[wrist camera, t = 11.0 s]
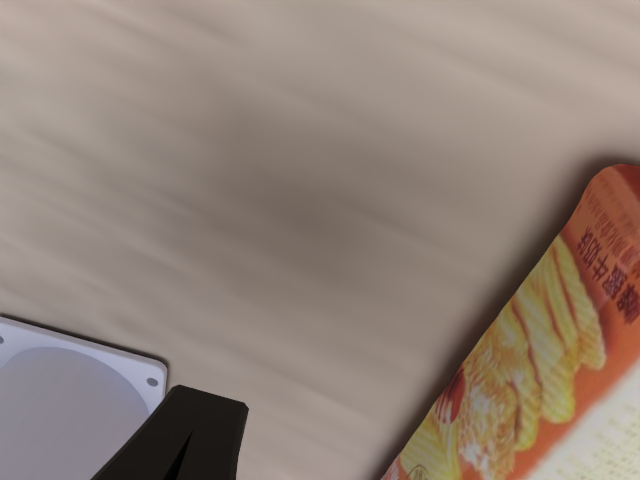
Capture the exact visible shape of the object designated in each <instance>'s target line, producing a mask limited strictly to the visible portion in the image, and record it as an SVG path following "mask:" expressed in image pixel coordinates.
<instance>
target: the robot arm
mask: <svg viewBox="0 0 640 480" xmlns="http://www.w3.org/2000/svg"><path fill="white" fill-rule="evenodd" d="M153 378H154V379H153ZM155 379H156V380H155ZM166 380H167V368H166V366H165V365H164V364H163V363H162V362H160V361H158V360H154V359H150V358H147V357H143V356H140V355H136V354H133V353H129V352H125V351H122V350H118V349H115V348H111V347H108V346H104V345H100V344H97V343H93V342H90V341H86V340H83V339H79V338H75V337H72V336H68V335H65V334H61V333H58V332H54V331H50V330H47V329H43V328H40V327H36V326H32V325H29V324H25V323H22V322H18V321H15V320H11V319H7V318H4V317H0V480H236V472H237V463H238V455H239V451H240V446H241V442H242V438H243V433H244V429H245V424H246V420H247V415H248V411H249V408H248V407H247V406H246V404H245V403H243V402H240V401H236V400H232V399H229V398H225V397H222V396H218V395H215V394H211V393H207V392H204V391H200V390H197V389H193V388H190V387H186V386H182V385H177V386H174V387H172V388H171V390H170V391H169V392H168V394H167V395H166V396H165V390H166Z"/></svg>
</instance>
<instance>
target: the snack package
mask: <svg viewBox="0 0 640 480" xmlns="http://www.w3.org/2000/svg"><path fill="white" fill-rule="evenodd" d="M381 480H640V166H636V165H630V164H617V165H613V166H609V167H607V168H604V169H602V170H601V171H600V172H599V173H598V174H596V175H595V176H594V177H593V178H592V180H591V181H590V182H589V184H588V185H587V187H586V189H585V191H584V193H583V195H582V198H581V200H580V202H579V204H578V206H577V207H576V209H575V211H574V212H573V214H572V216H571V218H570V219H569V221H568V222H567V224H566V225H565V226H564V227H563V229H562V230H561V231H560V233H559V234H558V235H557V236H556V238H555V239H554V241H553V242H552V243H551V245H550V246H549V248H548V249H547V251H546V252H545V253H544V255H543V256H542V258H541V259H540V261H539V262H538V263H537V265H536V266H535V267H534V268H533V269H532V271H531V272H530V273H529V275H528V276H527V277H526V279H525V280H524V281H523V283H522V284H521V286H520V287H519V288H518V290H517V291H516V293H515V294H514V295H513V296H512V298H511V299H510V300H509V301H508V302H507V304H506V305H505V306H504V308H503V309H502V310H501V312H500V313H499V315H498V316H497V318H496V319H495V320H494V322H493V323H492V324H491V325H490V326H489V328H488V329H487V330H486V332H485V333H484V334H483V336H482V337H481V338H480V339H479V341H478V342H477V344H476V345H475V347H474V348H473V350H472V351H471V353H470V354H469V356H468V357H467V358H466V359H465V360H464V362H463V363H462V364H461V365H460V367H459V368H458V370H457V371H456V372H455V374H454V375H453V377H452V378H451V380H450V382H449V383H448V385H447V387H446V388H445V390H444V391H443V393H442V394H441V395H440V396H439V397H438V399H437V400H436V401H435V403H434V404H433V406H432V407H431V409H430V411H429V412H428V414H427V415H426V417H425V419H424V420H423V422H422V423H421V425H420V426H419V427H418V429H417V430H416V431H415V432H414V434H413V435H412V437H411V438H410V440H409V441H408V443H407V444H406V446H405V447H404V449H403V450H402V451H401V452H400V454H399V455H398V456H397V457H396V458H395V460H394V461H393V463H392V464H391V466H390V467H389V469H388V470H387V471H386V473H385V474H384V476H383V477H382V478H381Z"/></svg>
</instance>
